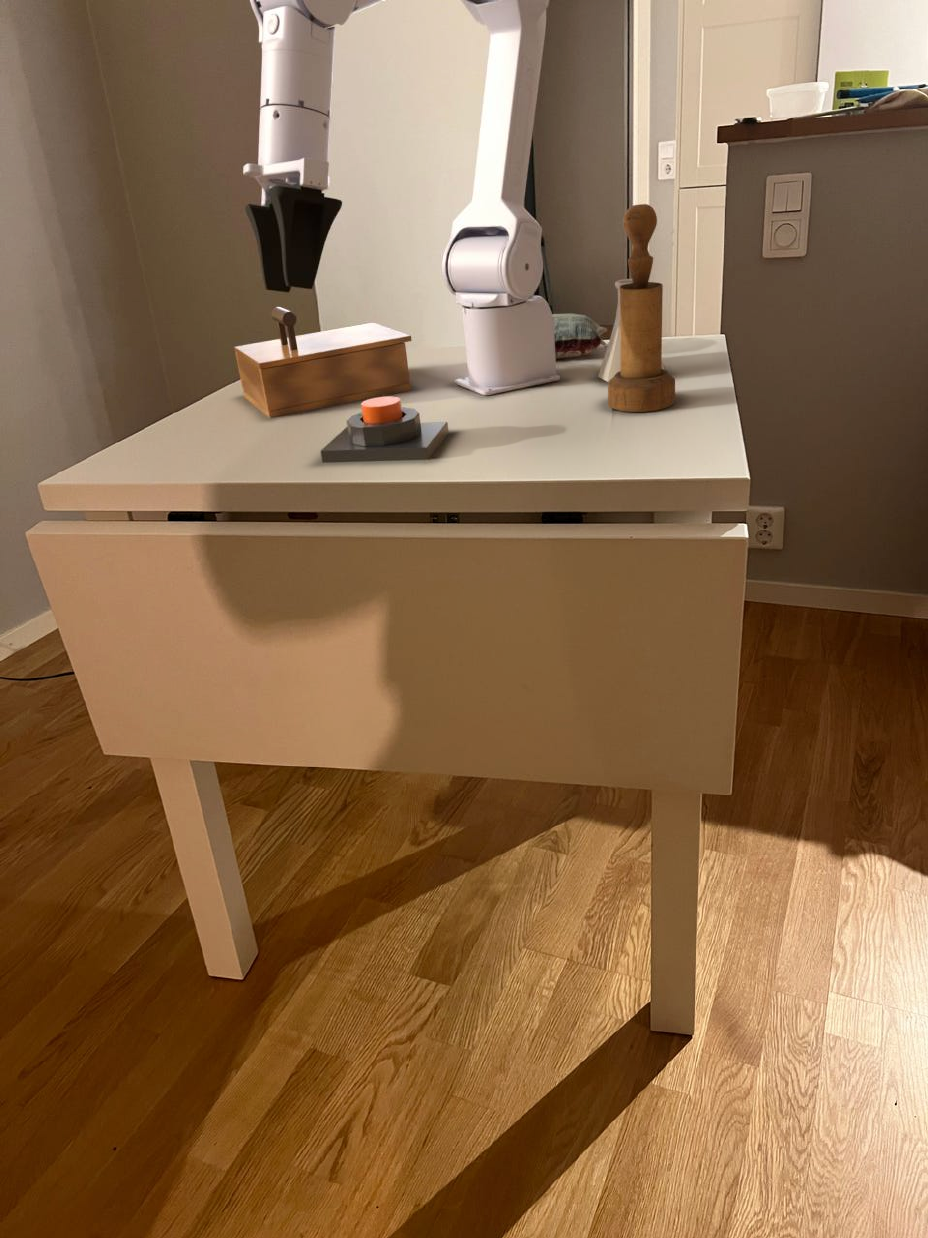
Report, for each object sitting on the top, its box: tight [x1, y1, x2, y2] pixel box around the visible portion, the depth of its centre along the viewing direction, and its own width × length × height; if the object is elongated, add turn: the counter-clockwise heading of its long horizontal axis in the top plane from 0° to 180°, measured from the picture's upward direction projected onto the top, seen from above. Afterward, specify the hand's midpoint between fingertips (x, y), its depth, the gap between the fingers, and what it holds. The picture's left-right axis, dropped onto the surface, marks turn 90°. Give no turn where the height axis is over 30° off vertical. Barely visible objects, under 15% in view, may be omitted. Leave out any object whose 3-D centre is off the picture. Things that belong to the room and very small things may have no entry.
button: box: [360, 396, 403, 423], centre depth 84 cm, size 4×4×2 cm
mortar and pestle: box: [607, 203, 676, 413], centre depth 87 cm, size 7×6×18 cm
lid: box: [233, 306, 413, 369], centre depth 104 cm, size 17×13×5 cm
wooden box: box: [235, 342, 412, 419], centre depth 107 cm, size 17×13×5 cm
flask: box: [597, 278, 666, 383], centre depth 99 cm, size 7×7×10 cm
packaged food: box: [552, 313, 608, 360], centre depth 113 cm, size 9×12×5 cm
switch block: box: [319, 406, 450, 464], centre depth 85 cm, size 10×8×3 cm
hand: (287, 289), depth 79 cm, fingers open, 7 cm apart
